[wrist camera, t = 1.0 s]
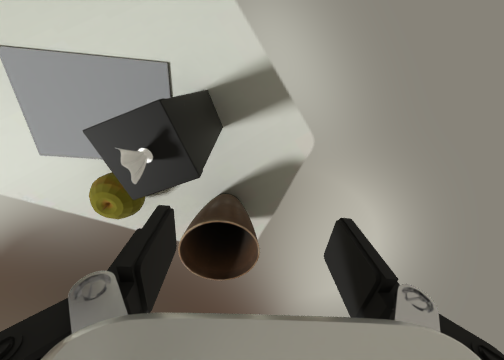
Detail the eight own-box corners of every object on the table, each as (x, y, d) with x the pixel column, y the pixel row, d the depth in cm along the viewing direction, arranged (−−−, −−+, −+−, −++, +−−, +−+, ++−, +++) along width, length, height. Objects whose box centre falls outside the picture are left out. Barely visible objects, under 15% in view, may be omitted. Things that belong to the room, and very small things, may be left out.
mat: (-2, 46, 35) (-5, 45, 34) (167, 63, 37) (167, 62, 36) (41, 154, 44) (39, 155, 43) (176, 163, 46) (176, 164, 45)
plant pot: (205, 171, 47) (187, 211, 32) (264, 189, 49) (272, 233, 35) (191, 219, 53) (171, 271, 38) (244, 233, 55) (244, 286, 41)
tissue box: (207, 89, 39) (141, 102, 14) (223, 127, 42) (193, 194, 17) (171, 103, 40) (48, 140, 15) (190, 139, 43) (114, 220, 18)
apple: (159, 196, 49) (138, 225, 39) (124, 205, 50) (94, 235, 40) (140, 159, 45) (110, 181, 35) (101, 170, 46) (61, 194, 36)
